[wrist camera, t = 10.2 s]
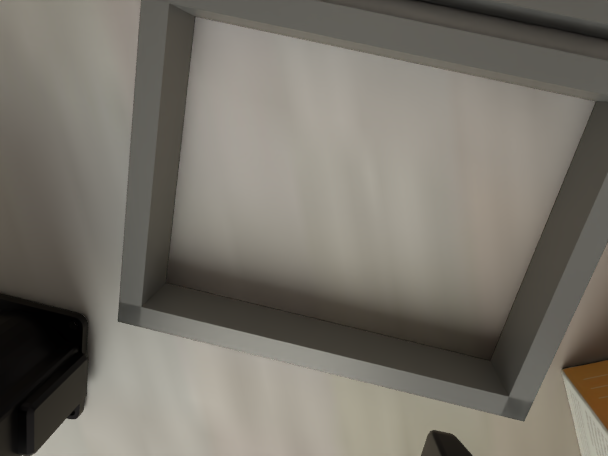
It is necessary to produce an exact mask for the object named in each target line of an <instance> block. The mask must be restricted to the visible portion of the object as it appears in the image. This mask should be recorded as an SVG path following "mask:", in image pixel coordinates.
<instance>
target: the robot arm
mask: <svg viewBox="0 0 608 456" xmlns="http://www.w3.org/2000/svg"><path fill="white" fill-rule="evenodd" d="M74 322H76V323H77V324H78V325H76V324H75V323H74ZM87 329H88V322H87V319H86V318H85V317H84V316H83V315H82V314H80V313H76V312H72V311H68V310H64V309H60V308H56V307H52V306H48V305H44V304H40V303H36V302H32V301H28V300H24V299H20V298H16V297H11V296H7V295H3V294H0V456H22V455H23V456H31V455H33V454H34V453H36V452H37V451H38V449H39V448H40V447H41V446H42V445H43V444H44V443H45V442H46V441H47V439H48V438H49V437H50V436H51V435H52V434H53V433H54V432H55V430H56V429H57V428H58V427H59V426H60V425H61V424H62V423H63V421H64V420H65V419H66V418H68V419H77V418H78V417H79V416H80V414H81V413H82V412H83V410H84V398H85V397H86V394H87V374H88V357H87V355H86V350H87ZM421 456H472V455H471V453H470V452H469V451H468V450H467V449H466V448H465V447H464V445H463V444H462V443H461V442H460V441H459V440H458V439H457V438H456V437H455V436H454V435H453V434H450V433H446V432H441V431H436V430H433V431H430V433H429V434H428V436H427V439H426V442H425V445H424V448H423V451H422V454H421Z"/></svg>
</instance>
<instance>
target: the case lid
mask: <svg viewBox="0 0 608 456" xmlns="http://www.w3.org/2000/svg"><path fill="white" fill-rule="evenodd" d="M317 1H322V2H327V3H332V4H336V5H341V6H346V7H351V8H356V9H361V10H365V11H370V12H375V13H380V14H385V15H390V16H394V17H399V18H404V19H409V20H414V21H418V22H423V23H428V24H433V25H438V26H443V27H447V28H452V29H457V30H462V31H467V32H472V33H476V34H481V35H486V36H491V37H496V38H501V39H505V40H510V41H515V42H520V43H525V44H530V45H534V46H539V47H544V48H549V49H554V50H558V51H563V52H568V53H573V54H578V55H583V56H587V57H592V58H597V59H602V60H607V61H608V0H317Z"/></svg>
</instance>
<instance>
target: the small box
mask: <svg viewBox="0 0 608 456" xmlns="http://www.w3.org/2000/svg"><path fill="white" fill-rule="evenodd" d="M561 372H562V375H563V379H564V383H565V388H566V392H567V396H568V400H569V404H570V409H571V413H572V417H573V421H574V425H575V430H576V435H577V438H578V443H579V447H580V451H581V456H608V360H606V361H601V362H596V363H591V364H587V365H582V366H575V367H570V368H565V369H562V371H561Z"/></svg>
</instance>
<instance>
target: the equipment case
mask: <svg viewBox="0 0 608 456" xmlns="http://www.w3.org/2000/svg"><path fill="white" fill-rule="evenodd" d="M195 17H200V18H205V19H209V20H214V21H219V22H224V23H228V24H233V25H238V26H242V27H247V28H252V29H257V30H261V31H266V32H271V33H276V34H280V35H285V36H290V37H294V38H299V39H304V40H309V41H313V42H318V43H323V44H328V45H332V46H337V47H342V48H346V49H351V50H356V51H361V52H365V53H370V54H375V55H380V56H384V57H389V58H394V59H398V60H403V61H408V62H413V63H417V64H422V65H427V66H432V67H436V68H441V69H446V70H450V71H455V72H460V73H465V74H469V75H474V76H479V77H484V78H488V79H493V80H498V81H502V82H507V83H512V84H517V85H521V86H526V87H531V88H536V89H540V90H545V91H550V92H554V93H559V94H564V95H569V96H573V97H578V98H583V99H588V100H592V101H597V102H596V104H595V106H594V109H593V111H592V114H591V116H590V119H589V121H588V124H587V126H586V128H585V131H584V133H583V136H582V138H581V141H580V143H579V145H578V148H577V150H576V153H575V155H574V158H573V160H572V163H571V165H570V167H569V170H568V172H567V175H566V177H565V180H564V182H563V185H562V187H561V189H560V192H559V194H558V197H557V199H556V202H555V204H554V206H553V209H552V211H551V214H550V216H549V219H548V221H547V224H546V226H545V228H544V231H543V233H542V236H541V238H540V241H539V243H538V246H537V248H536V250H535V253H534V255H533V258H532V260H531V263H530V265H529V267H528V270H527V272H526V275H525V277H524V280H523V282H522V285H521V287H520V289H519V292H518V294H517V297H516V299H515V302H514V304H513V307H512V309H511V311H510V314H509V316H508V319H507V321H506V324H505V326H504V328H503V331H502V333H501V336H500V338H499V341H498V343H497V346H496V348H495V350H494V353H493V355H492V358H491V360H490V361H488V360H484V359H480V358H476V357H472V356H468V355H463V354H459V353H455V352H451V351H447V350H443V349H439V348H434V347H430V346H426V345H422V344H418V343H414V342H409V341H405V340H401V339H397V338H393V337H389V336H385V335H380V334H376V333H372V332H368V331H364V330H360V329H355V328H351V327H347V326H343V325H339V324H335V323H331V322H326V321H322V320H318V319H314V318H310V317H306V316H301V315H297V314H293V313H289V312H285V311H281V310H277V309H272V308H268V307H264V306H260V305H256V304H252V303H247V302H243V301H239V300H235V299H231V298H227V297H223V296H218V295H214V294H210V293H206V292H202V291H198V290H193V289H189V288H185V287H181V286H177V285H173V284H169V283H166V276H167V267H168V258H169V249H170V239H171V230H172V221H173V212H174V203H175V194H176V185H177V176H178V167H179V158H180V149H181V140H182V131H183V122H184V113H185V104H186V95H187V86H188V76H189V67H190V58H191V49H192V40H193V31H194V22H195ZM607 242H608V61H607V60H602V59H597V58H592V57H587V56H583V55H578V54H573V53H568V52H563V51H558V50H554V49H549V48H544V47H539V46H534V45H530V44H525V43H520V42H515V41H510V40H505V39H501V38H496V37H491V36H486V35H481V34H476V33H472V32H467V31H462V30H457V29H452V28H447V27H443V26H438V25H433V24H428V23H423V22H418V21H414V20H409V19H404V18H399V17H394V16H390V15H385V14H380V13H375V12H370V11H365V10H361V9H356V8H351V7H346V6H341V5H336V4H332V3H327V2H322V1H317V0H141V8H140V22H139V35H138V49H137V63H136V77H135V90H134V104H133V118H132V132H131V146H130V159H129V173H128V187H127V201H126V215H125V228H124V242H123V256H122V270H121V284H120V297H119V311H118V322H122V323H126V324H130V325H134V326H138V327H142V328H146V329H150V330H154V331H159V332H163V333H167V334H171V335H175V336H179V337H183V338H187V339H191V340H195V341H199V342H203V343H207V344H211V345H215V346H219V347H224V348H228V349H232V350H236V351H240V352H244V353H248V354H252V355H256V356H260V357H264V358H268V359H272V360H276V361H280V362H284V363H289V364H293V365H297V366H301V367H305V368H309V369H313V370H317V371H321V372H325V373H329V374H333V375H337V376H341V377H345V378H349V379H354V380H358V381H362V382H366V383H370V384H374V385H378V386H382V387H386V388H390V389H394V390H398V391H402V392H406V393H410V394H414V395H418V396H423V397H427V398H431V399H435V400H439V401H443V402H447V403H451V404H455V405H459V406H463V407H467V408H471V409H475V410H479V411H483V412H488V413H492V414H496V415H500V416H504V417H508V418H512V419H516V420H520V421H525V418H526V416H527V414H528V412H529V410H530V408H531V405H532V403H533V401H534V399H535V397H536V395H537V393H538V390H539V388H540V386H541V384H542V382H543V380H544V378H545V375H546V373H547V371H548V369H549V367H550V365H551V363H552V360H553V358H554V356H555V354H556V352H557V350H558V348H559V345H560V343H561V341H562V339H563V337H564V335H565V332H566V330H567V328H568V326H569V324H570V322H571V320H572V317H573V315H574V313H575V311H576V309H577V307H578V305H579V302H580V300H581V298H582V296H583V294H584V292H585V290H586V287H587V285H588V283H589V281H590V279H591V277H592V274H593V272H594V270H595V268H596V266H597V264H598V262H599V259H600V257H601V255H602V253H603V251H604V249H605V247H606V244H607Z"/></svg>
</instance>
